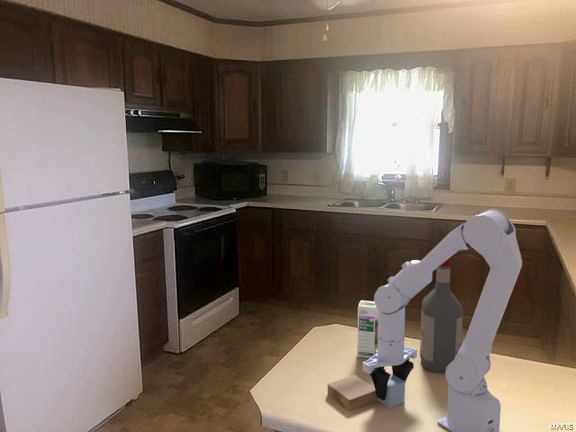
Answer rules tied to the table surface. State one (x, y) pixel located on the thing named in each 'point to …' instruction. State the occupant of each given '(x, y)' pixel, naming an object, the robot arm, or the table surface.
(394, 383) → the blue block
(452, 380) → the robot arm
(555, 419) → the table surface
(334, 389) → the walnut block
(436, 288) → the liquor
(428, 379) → the table surface
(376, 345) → the syrup box
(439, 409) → the table surface
